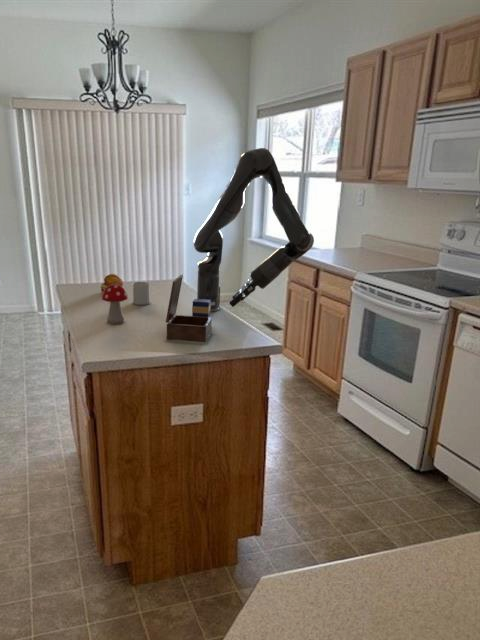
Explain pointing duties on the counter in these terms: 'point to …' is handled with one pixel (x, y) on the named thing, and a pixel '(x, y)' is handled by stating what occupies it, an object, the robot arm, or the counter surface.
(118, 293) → the decorative mushroom
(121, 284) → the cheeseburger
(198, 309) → the cookie packet
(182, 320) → the chest
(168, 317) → the lid
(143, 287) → the cup
